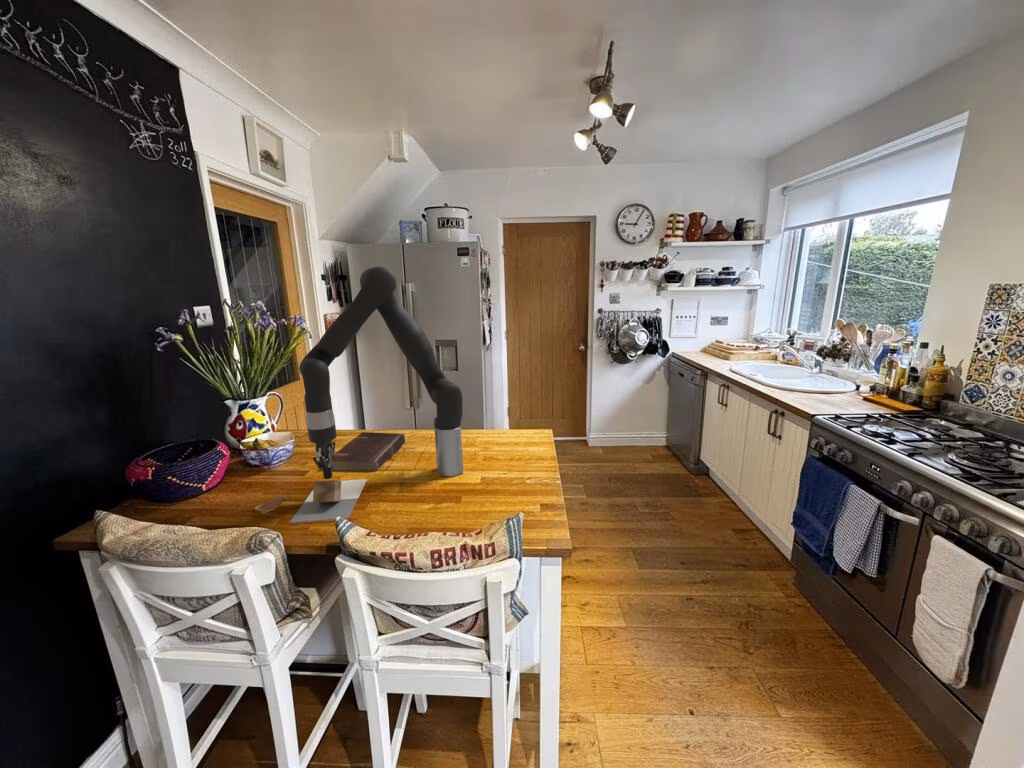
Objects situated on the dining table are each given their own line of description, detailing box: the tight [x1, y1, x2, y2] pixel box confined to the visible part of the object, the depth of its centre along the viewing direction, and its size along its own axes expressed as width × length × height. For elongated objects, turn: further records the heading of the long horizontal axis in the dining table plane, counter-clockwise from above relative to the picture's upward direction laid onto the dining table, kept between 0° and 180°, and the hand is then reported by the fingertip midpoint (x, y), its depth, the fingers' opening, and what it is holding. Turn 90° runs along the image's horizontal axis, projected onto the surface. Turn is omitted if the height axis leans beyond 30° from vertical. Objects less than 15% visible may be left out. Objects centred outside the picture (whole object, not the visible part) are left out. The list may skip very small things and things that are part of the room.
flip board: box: [289, 478, 368, 526], centre depth 127 cm, size 16×24×1 cm, turn 7°
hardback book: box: [331, 431, 406, 472], centre depth 160 cm, size 29×19×5 cm, turn 174°
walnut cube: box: [312, 479, 342, 503], centre depth 123 cm, size 6×6×6 cm
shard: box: [254, 492, 291, 514], centre depth 125 cm, size 11×8×2 cm
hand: (328, 477), depth 125 cm, fingers closed
